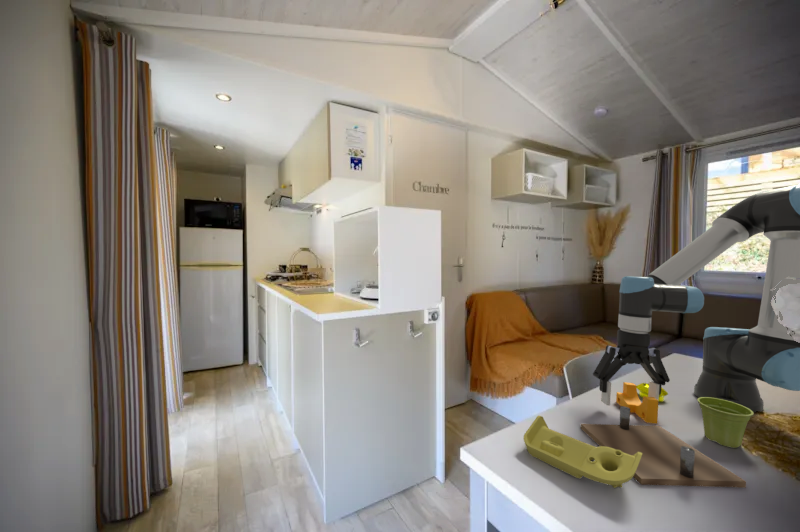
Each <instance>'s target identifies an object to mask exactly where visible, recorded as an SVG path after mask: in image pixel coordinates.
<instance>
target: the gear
mask: <svg viewBox="0 0 800 532" xmlns="http://www.w3.org/2000/svg"><path fill="white" fill-rule="evenodd" d="M636 388H637V391H639V394H638V397H640V398H642V399H643V396H645V397H648V393H649V382H648V383H647V382H641V383H639V384H636ZM667 395H669V393H668V391H667V390H665V389H664V388H663V387H662V386H661V394H660V395H659V400H658V403H663V402H664V401H665V397H666V396H667Z"/></svg>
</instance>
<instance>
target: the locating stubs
mask: <svg viewBox="0 0 800 532" xmlns="http://www.w3.org/2000/svg"><path fill="white" fill-rule="evenodd" d="M630 419H631V412H630V408H628V407H625V406H620V407H619V425H620V426H619V427H620V428H621V429H624V430H629V425H631V424H630V421H631V420H630ZM694 458H695V451H694V450H693V449H691V448H689V447H685V446H682V447H681V456H680V474H681V475H683V476H685V477H688V478H693V477H694Z"/></svg>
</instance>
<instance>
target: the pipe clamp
mask: <svg viewBox="0 0 800 532" xmlns="http://www.w3.org/2000/svg"><path fill="white" fill-rule="evenodd" d="M622 384H623V386H622V392H619V391H617V392H616V394H615V396H616V398H615V399H616V400H615V402H616V404H617V405H619V406H620V407H621V406H625V407H628V408H630V414H636V416H638V417H639V418H640V419H642V420H643V421H644V422H645V423H646V424H655V425H656V424H657V425H658V419H659V418H658V416H659V414H658V413H659V402H658V400H657V399H656V398H654V397H645V396H643V398H642V401H641V400H640V398H639V397H640V396H639V394H638V389H637V388H636V386H637V384H635V383H633V382H626V381H625V382H623V383H622Z"/></svg>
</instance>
